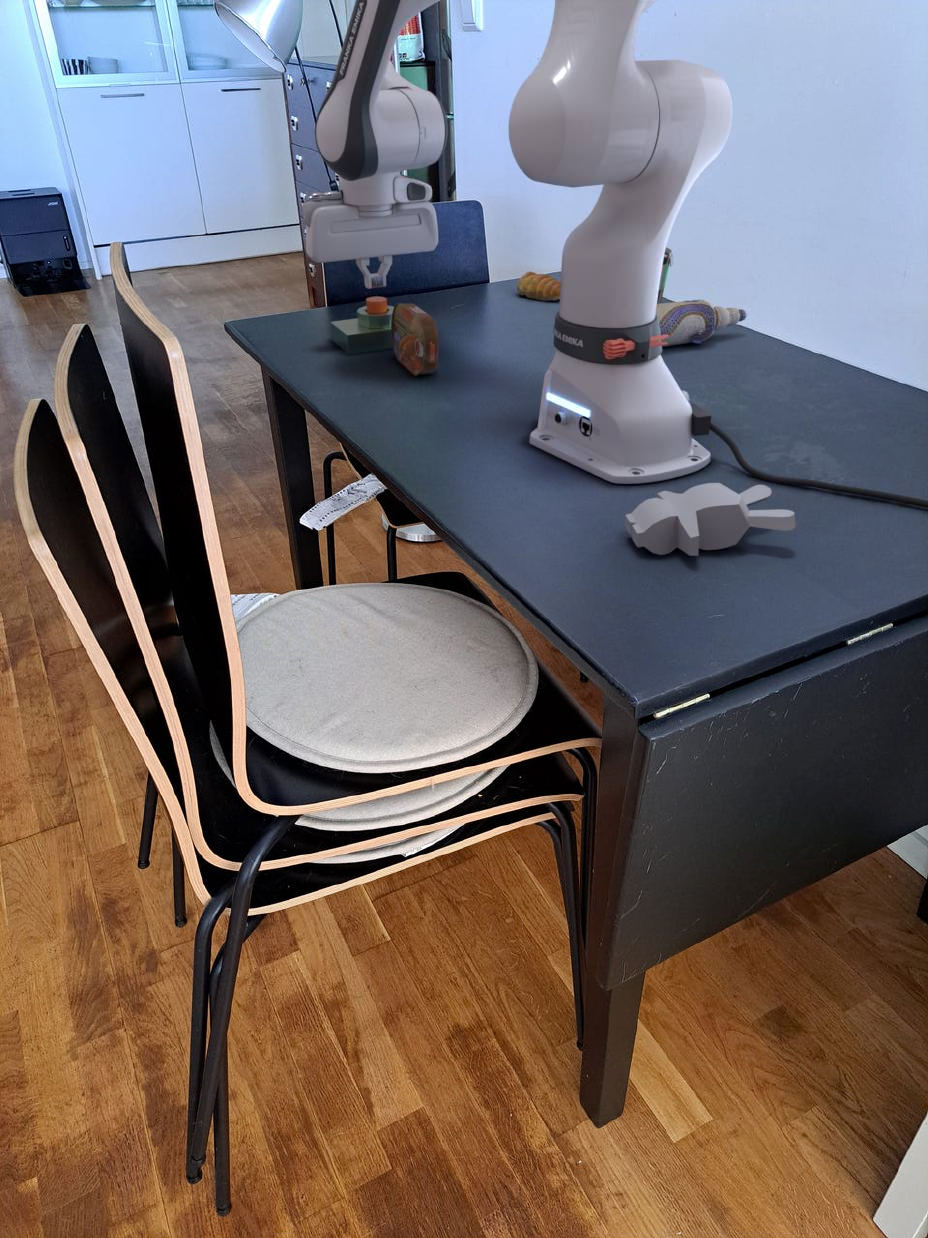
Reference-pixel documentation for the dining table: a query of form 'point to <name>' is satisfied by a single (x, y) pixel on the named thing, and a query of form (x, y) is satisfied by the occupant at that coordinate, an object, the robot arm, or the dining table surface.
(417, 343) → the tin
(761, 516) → the bunny figurine
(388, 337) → the console
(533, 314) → the dining table surface
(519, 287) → the pastry
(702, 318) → the decorative bottle
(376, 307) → the button
